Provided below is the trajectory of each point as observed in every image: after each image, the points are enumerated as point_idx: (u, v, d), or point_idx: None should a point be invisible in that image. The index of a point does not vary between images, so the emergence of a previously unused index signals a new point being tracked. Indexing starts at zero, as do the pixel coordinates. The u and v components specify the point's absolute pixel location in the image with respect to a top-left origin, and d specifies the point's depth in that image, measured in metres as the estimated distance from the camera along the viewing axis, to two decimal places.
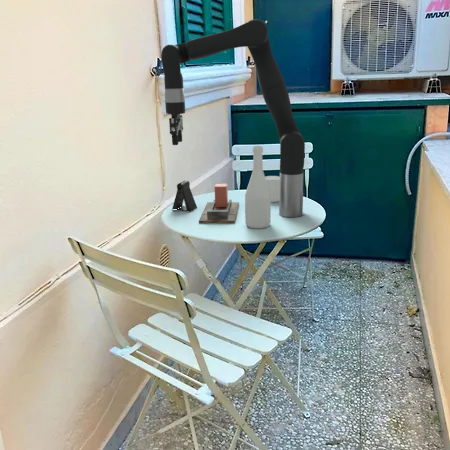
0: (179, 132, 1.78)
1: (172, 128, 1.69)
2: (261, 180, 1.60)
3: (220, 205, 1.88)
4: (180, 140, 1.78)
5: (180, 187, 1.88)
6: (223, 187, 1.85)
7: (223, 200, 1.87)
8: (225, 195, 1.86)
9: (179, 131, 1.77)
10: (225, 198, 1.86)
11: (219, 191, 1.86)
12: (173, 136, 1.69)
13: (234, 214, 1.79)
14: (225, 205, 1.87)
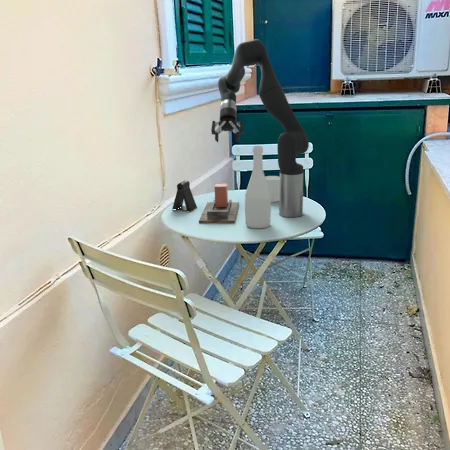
0: None
1: None
2: (261, 180, 1.60)
3: (220, 205, 1.88)
4: None
5: (180, 187, 1.88)
6: (223, 187, 1.85)
7: (223, 200, 1.87)
8: (225, 195, 1.86)
9: (236, 132, 1.97)
10: (225, 198, 1.86)
11: (219, 191, 1.86)
12: (215, 135, 1.97)
13: (234, 214, 1.79)
14: (225, 205, 1.87)
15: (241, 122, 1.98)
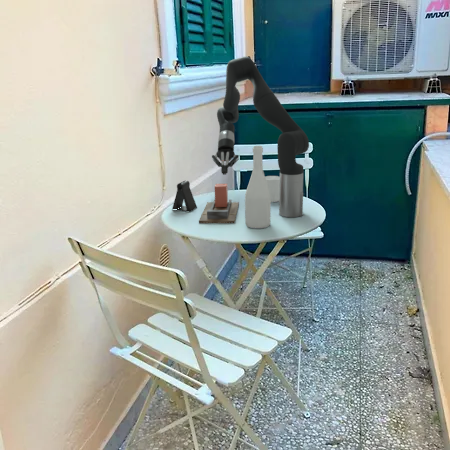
0: None
1: None
2: (261, 180, 1.60)
3: (220, 205, 1.88)
4: None
5: (180, 187, 1.88)
6: (223, 187, 1.85)
7: (223, 200, 1.87)
8: (225, 195, 1.86)
9: (225, 165, 2.02)
10: (225, 198, 1.86)
11: (219, 191, 1.86)
12: None
13: (234, 214, 1.79)
14: (225, 205, 1.87)
15: (236, 157, 2.02)
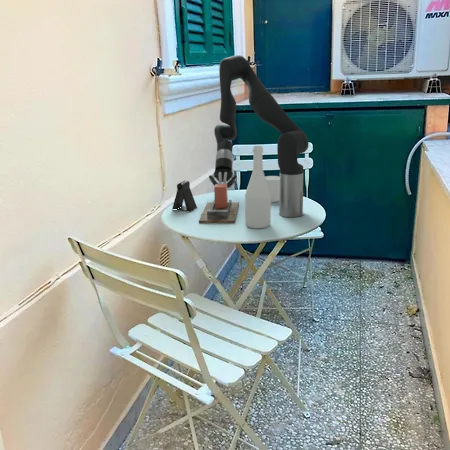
0: None
1: None
2: (261, 180, 1.60)
3: (220, 206, 1.87)
4: None
5: (180, 187, 1.88)
6: (223, 188, 1.84)
7: (223, 201, 1.86)
8: (225, 196, 1.85)
9: None
10: (225, 199, 1.86)
11: (218, 191, 1.85)
12: None
13: (234, 214, 1.79)
14: (225, 206, 1.87)
15: (234, 177, 1.93)
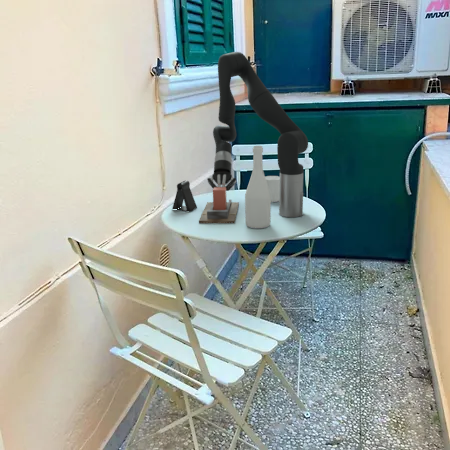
0: None
1: None
2: (261, 180, 1.60)
3: (219, 209, 1.82)
4: None
5: (180, 187, 1.88)
6: (222, 191, 1.79)
7: (222, 204, 1.81)
8: (224, 199, 1.80)
9: None
10: (224, 202, 1.81)
11: (217, 195, 1.80)
12: None
13: (234, 214, 1.79)
14: (224, 209, 1.82)
15: (233, 180, 1.88)
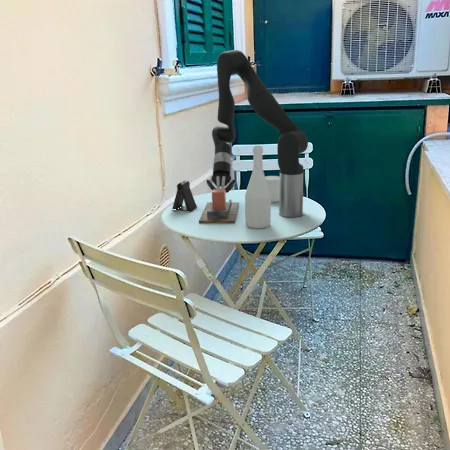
0: None
1: None
2: (261, 180, 1.60)
3: None
4: None
5: (180, 187, 1.88)
6: (221, 193, 1.76)
7: (221, 207, 1.78)
8: (223, 201, 1.77)
9: None
10: (223, 204, 1.78)
11: (216, 197, 1.77)
12: None
13: (234, 214, 1.79)
14: None
15: (233, 181, 1.85)
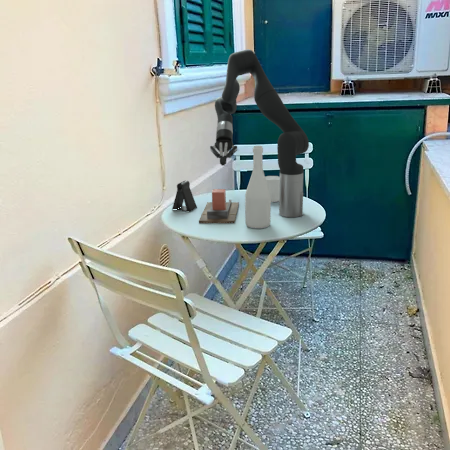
0: None
1: None
2: (261, 180, 1.60)
3: None
4: None
5: (180, 187, 1.88)
6: (221, 193, 1.76)
7: (221, 207, 1.78)
8: (223, 201, 1.77)
9: (223, 156, 1.99)
10: (223, 204, 1.78)
11: (216, 197, 1.77)
12: (220, 158, 1.99)
13: (234, 214, 1.79)
14: None
15: (234, 147, 1.99)
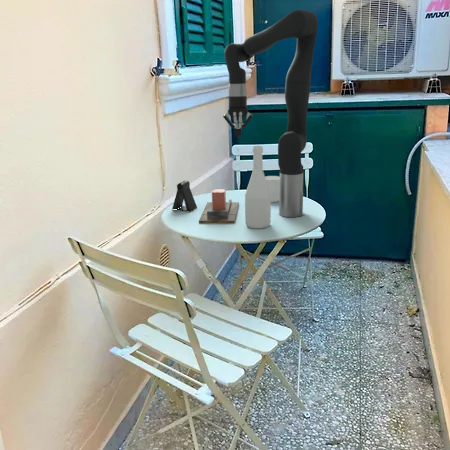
0: (238, 128, 1.89)
1: None
2: (261, 180, 1.60)
3: None
4: None
5: (180, 187, 1.88)
6: (221, 193, 1.76)
7: (221, 207, 1.78)
8: (223, 201, 1.77)
9: (238, 127, 1.88)
10: (223, 204, 1.78)
11: (216, 197, 1.77)
12: None
13: (234, 214, 1.79)
14: None
15: (250, 117, 1.86)
